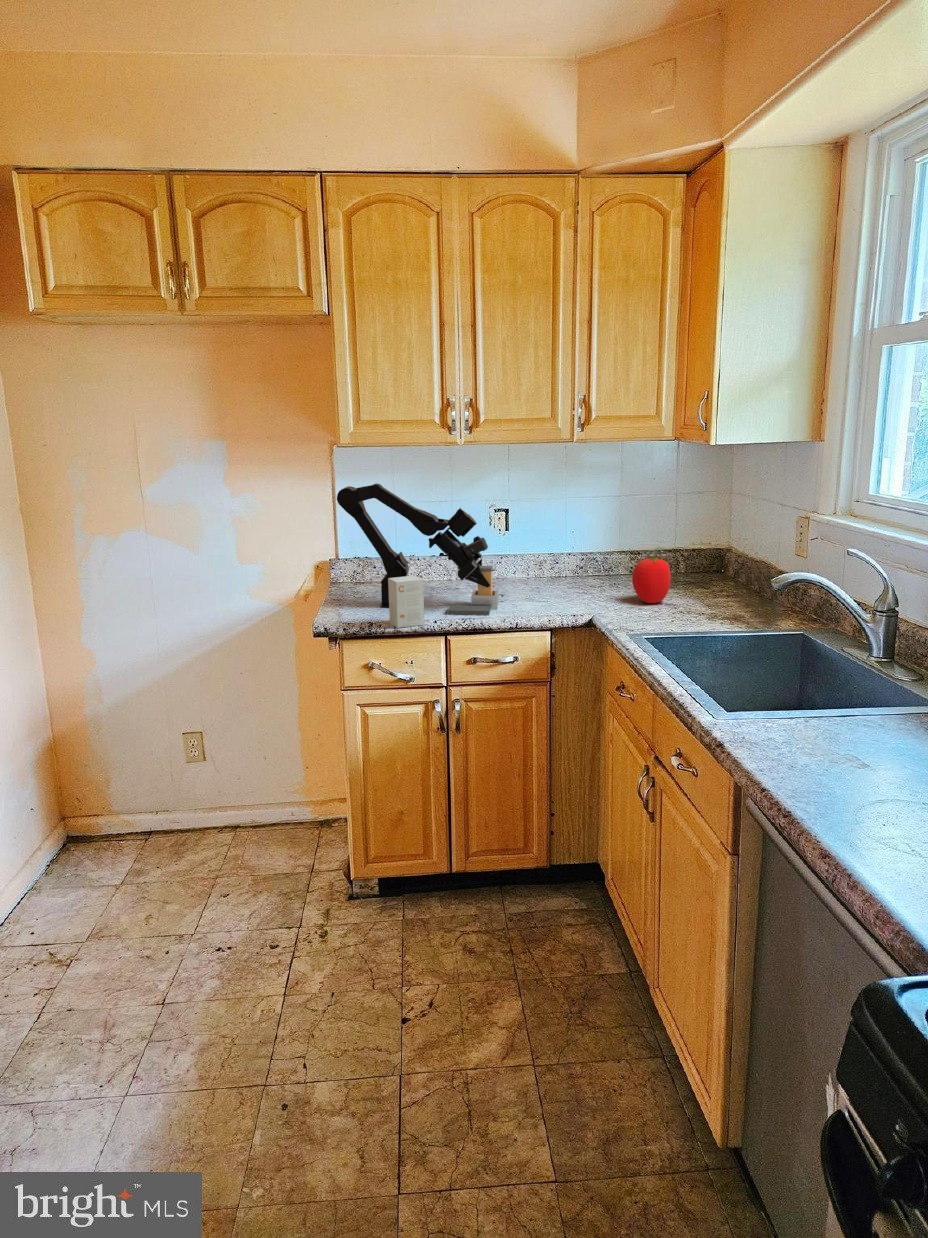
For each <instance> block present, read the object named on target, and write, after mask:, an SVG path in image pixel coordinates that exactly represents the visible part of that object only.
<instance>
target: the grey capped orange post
mask: <svg viewBox="0 0 928 1238" xmlns="http://www.w3.org/2000/svg"><path fill="white" fill-rule="evenodd" d="M480 571H481V573H482V574H483V575H484V577H485V578H486V580H487V581H488V582H489V584H490V586H489V587H488V588H487V587H485V586H482V585H480V584H477V590H478V595H492V590H493V565H482V566H480Z"/></svg>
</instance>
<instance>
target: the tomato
mask: <svg viewBox="0 0 928 1238" xmlns="http://www.w3.org/2000/svg"><path fill="white" fill-rule="evenodd" d="M671 574H672V573H671V569H670V565H669V563H668V562H667V561H666V560H664V559H662V558H659V557H657V556H654V555H653V557H651V558H645V559H642V560H640V561H638V562H637V563H636V565H635V566H634V569H633V572H632V577H631V579H632V580H631V581H632V587H633V589H634V591H635V594H636V595H637V597H638V598H639V599H640V600H641V601H642V602H644V603H646V604H658V603H661V602H662V601H664V599H665V598H666V596H667V595H668V592H669V591H670V586H671V578H672V577H671Z"/></svg>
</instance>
